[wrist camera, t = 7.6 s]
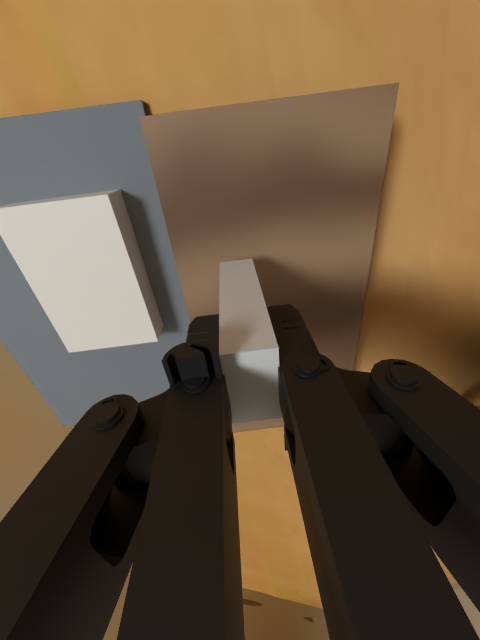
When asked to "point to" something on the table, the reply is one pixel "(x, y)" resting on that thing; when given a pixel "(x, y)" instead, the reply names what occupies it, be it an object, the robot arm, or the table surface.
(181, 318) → the mat
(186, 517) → the robot arm
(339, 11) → the table surface
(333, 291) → the block
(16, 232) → the white rectangular block
